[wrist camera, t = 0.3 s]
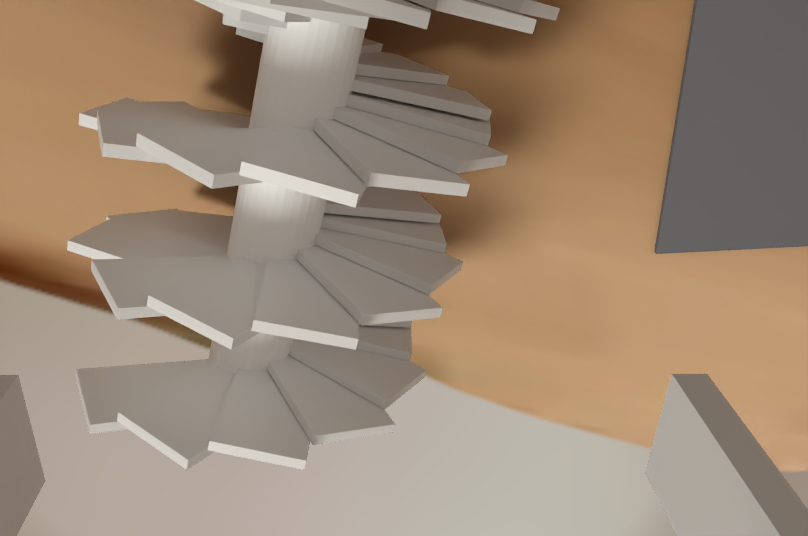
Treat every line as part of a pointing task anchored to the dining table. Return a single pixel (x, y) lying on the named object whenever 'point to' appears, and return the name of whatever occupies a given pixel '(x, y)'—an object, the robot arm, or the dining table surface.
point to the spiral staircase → (291, 234)
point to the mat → (740, 131)
